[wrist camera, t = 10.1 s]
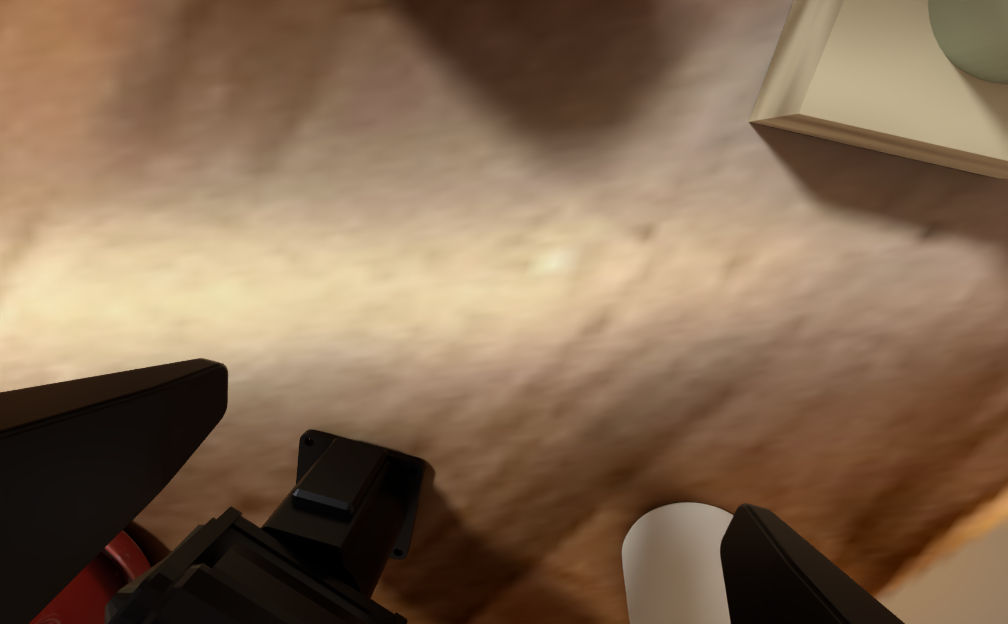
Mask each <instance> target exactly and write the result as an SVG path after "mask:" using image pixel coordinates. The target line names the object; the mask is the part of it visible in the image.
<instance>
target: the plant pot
mask: <svg viewBox="0 0 1008 624" xmlns="http://www.w3.org/2000/svg"><path fill="white" fill-rule="evenodd" d="M150 568H151V566H150V564H149V562H148V560H147V558H146V557H145V555H144V554H143V552H142V551H141V549H140V548H139V547H138V545H137V544H136V543H135V542H134V540H133V539H132V538H131V537H130V536H129V535H128V534H127V533H125V532H124V531H123V530H122V531H121V532H120V533H119V534H118V535H117V536H116V537H115V538H114V539H113V540H112V541H111V542H110V543H109V544H108V545H107V546H106V547H105V548H104V549H103V550H102V551H101V552H100V553H99V554H98V555H97V556H96V557H95V558H94V559H93V560H92V561H91V562H90V563H89V564H88V565H87V566H86V567H85V568H84V569H83V570H82V571H81V572H80V573H79V574H78V575H77V576H76V577H75V578H74V579H73V580H72V581H71V582H70V583H69V584H68V585H67V586H66V587H65V588H64V589H63V590H62V591H61V592H60V593H59V594H58V595H57V596H56V597H55V598H54V599H53V600H52V601H51V602H50V603H49V604H48V605H47V606H46V607H45V608H44V609H43V610H42V611H41V612H40V613H39V614H38V615H37V616H36V617H35V618H34V619H33V620H32V621H31V622H30V623H29V624H104V610H105V606H106V604H107V603H108V602H109V601H110V599H111V598H112V597H113V596H114V595H115V594H116V593H117V592H118V591H119V590H120V589H121V588H123V587H124V586H126V585H127V584H128V583H130V582H131V581H133V580H134V579H136V578H137V577H139V576H140V575H141V574H143V573H144V572H146V571H147V570H149V569H150Z"/></svg>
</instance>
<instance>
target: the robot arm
mask: <svg viewBox="0 0 1008 624" xmlns="http://www.w3.org/2000/svg"><path fill="white" fill-rule="evenodd" d="M227 403H228V370H227V367H226V366H225V365H224V364H223V363H219V362H215V361H212V360H208V359H204V358H199V359H193V360H187V361H181V362H175V363H169V364H164V365H158V366H152V367H146V368H140V369H134V370H129V371H123V372H117V373H111V374H105V375H100V376H94V377H88V378H82V379H76V380H70V381H65V382H59V383H53V384H47V385H41V386H35V387H30V388H24V389H18V390H12V391H6V392H0V624H29V623H30V622H31V621H32V620H33V619H34V618H35V617H36V616H37V615H38V614H39V613H40V612H41V611H42V610H43V609H44V608H45V607H46V606H47V605H48V604H49V603H50V602H51V601H52V600H53V599H54V598H55V597H56V596H57V595H58V594H59V593H60V592H61V591H62V590H63V589H64V588H65V587H66V586H67V585H68V584H69V583H70V582H71V581H72V580H73V579H74V578H75V577H76V576H77V575H78V574H79V573H80V572H81V571H82V570H83V569H84V568H85V567H86V566H87V565H88V564H89V563H90V562H91V561H92V560H93V559H94V558H95V557H96V556H97V555H98V554H99V553H100V552H101V551H102V550H103V549H104V548H105V547H106V546H107V545H108V544H109V543H110V542H111V541H112V540H113V539H114V538H115V537H116V536H117V535H118V534H119V533H120V532H121V531H122V530H123V529H124V528H125V527H126V526H127V525H128V524H129V523H130V522H131V521H132V520H133V519H134V518H135V517H136V516H137V515H138V514H139V513H140V512H141V511H142V510H143V509H144V508H145V507H146V506H147V505H148V504H149V503H150V502H151V501H152V500H153V499H154V498H155V497H156V496H157V495H158V494H159V493H160V492H161V491H162V489H163V488H164V487H165V486H166V485H167V484H168V483H169V482H170V480H171V479H172V478H173V477H174V476H175V475H176V473H177V472H178V471H179V470H180V469H181V467H182V466H183V465H184V464H185V463H186V461H187V460H188V459H189V458H190V456H191V455H192V454H193V453H194V452H195V450H196V449H197V448H198V447H199V446H200V444H201V443H202V442H203V441H204V440H205V438H206V437H207V436H208V435H209V434H210V432H211V431H212V430H213V429H214V428H215V426H216V425H217V424H218V423H219V422H220V420H221V419H222V418H223V416H224V414H225V412H226V409H227ZM309 438H310V439H312V440H313V441H314V442H312V441H310V440H309ZM412 467H416V468H417V469H418V470H414V469H412ZM424 471H425V464H424V462H423V461H422V460H421V459H418V458H416V457H412V456H408V455H405V454H401V453H397V452H393V451H390V450H386V449H382V448H379V447H375V446H371V445H368V444H364V443H360V442H357V441H353V440H349V439H346V438H342V437H338V436H335V435H331V434H327V433H324V432H320V431H316V430H307V431H306V432H305V433H304V434H303V435H302V436H301V438H300V443H299V455H298V467H297V479H296V486H295V487H294V488H293V489H292V491H291V492H290V493H289V494H288V495H287V497H286V498H285V499H284V500H283V502H282V503H281V504H280V505H279V506H278V508H277V509H276V510H275V511H274V513H273V514H272V515H271V516H270V517H269V519H268V520H267V521H266V522H265V524H264V525H263V526H262V527H261V528H259V527H258V526H256V525H255V524H253V523H252V522H250V521H249V520H247V519H245V518H244V517H242V516H241V515H242V513H241V512H240V511H238V510H236V509H235V508H233V507H232V506H231V507H230V508H228V509H227V510H226V511H225V512H224V513H223V514H222V515H221V516H220V517H219V518H217V519H215V518H212V519H211V520H210V521H209V522H208V523H206V524H205V525H198V526H197V527H196V528H195V529H194V530H193V531H192V532H191V533H190V534H189V535H188V536H187V537H186V538H185V539H184V540H183V541H182V542H181V543H180V544H179V545H178V546H177V547H176V548H175V549H174V550H173V551H172V552H171V553H170V554H169V555H168V556H166V557H165V558H164V559H163V560H161V561H160V562H159V563H157V564H156V565H154V566H153V567H151V568H150V569H149V570H147V571H146V572H144V573H143V574H141V575H140V576H139V577H137V578H136V579H134V580H133V581H131V582H130V583H128V584H127V585H126V586H124V587H123V588H121V589H120V590H119V591H118V592H117V593H116V594H115V595H114V596H113V597H112V598H111V599H110V601H109V602H108V603H107V604H106V606H105V610H104V624H407V619H406V618H404V617H403V616H401V615H400V614H398V613H395V614H393V613H392V612H390V611H389V610H387V609H386V608H384V607H383V606H381V605H379V604H378V603H376V602H375V601H373V600H372V599H371V596H372V594H373V592H374V590H375V587H376V585H377V583H378V581H379V578H380V576H381V574H382V572H383V569H384V567H385V565H386V563H387V560H388V558H389V557H390V558H394V559H398V560H401V559H404V558H405V557H406V556H407V553H408V551H409V547H410V542H411V537H412V532H413V527H414V522H415V517H416V512H417V507H418V502H419V497H420V492H421V487H422V482H423V477H424ZM398 549H400V550H398ZM720 558H721V564H722V571H723V577H724V584H725V590H726V597H727V603H728V609H729V616H730V622H731V624H905V623H903V622H902V621H901V620H900V619H899V618H897V617H896V616H895V615H894V614H893V613H892V612H890V611H889V610H888V609H887V608H886V607H884V606H883V605H882V604H881V603H880V602H879V601H877V600H876V599H875V598H874V597H873V596H871V595H870V594H869V593H868V592H867V591H865V590H864V589H863V588H862V587H861V586H860V585H858V584H857V583H856V582H855V581H854V580H852V579H851V578H850V577H849V576H848V575H846V574H845V573H844V572H843V571H842V570H841V569H839V568H838V567H837V566H836V565H835V564H833V563H832V562H831V561H830V560H829V559H827V558H826V557H825V556H824V555H823V554H822V553H820V552H819V551H818V550H817V549H816V548H814V547H813V546H812V545H811V544H810V543H808V542H807V541H806V540H805V539H804V538H803V537H801V536H800V535H799V534H798V533H797V532H795V531H794V530H793V529H792V528H791V527H789V526H788V525H787V524H786V523H785V522H784V521H782V520H781V519H780V518H779V517H778V516H776V515H775V514H774V513H773V512H772V511H770V510H768V509H766V508H763V507H759V506H755V505H751V504H747V503H744V504H741V505H740V506H739V507H738V508H737V510H736V512H735V514H734V516H733V518H732V520H731V522H730V524H729V526H728V528H727V530H726V532H725V534H724V536H723V538H722V541H721V545H720Z"/></svg>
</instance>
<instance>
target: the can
mask: <svg viewBox="0 0 1008 624" xmlns="http://www.w3.org/2000/svg"><path fill="white" fill-rule="evenodd" d="M732 518H733V515H732V514H730V513H728V512H727V511H725V510H722V509H720V508H717V507H714V506H711V505H706V504H702V503H695V502H678V503H672V504H667V505H664V506H661V507H658V508H655V509H653V510H651V511H649V512H648V513H646V514H645V515H643V516H642V517H641V518H640V519H639V520H637V521H636V523H635V524H634V525H633V526H632V527H631V529H630V530H629V532H628V534H627V535H626V537H625V540H624V542H623V546H622V563H623V572H624V581H625V589H626V597H627V605H628V613H629V621H630V624H731V622H730V616H729V609H728V603H727V597H726V590H725V584H724V577H723V571H722V564H721V558H720V545H721V541H722V538H723V536H724V534H725V532H726V530H727V528H728V526H729V524H730V522H731V520H732Z"/></svg>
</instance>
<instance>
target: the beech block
mask: <svg viewBox="0 0 1008 624" xmlns="http://www.w3.org/2000/svg"><path fill="white" fill-rule="evenodd" d="M749 122H752V123H757V124H761V125H766V126H770V127H774V128H779V129H783V130H788V131H792V132H796V133H801V134H805V135H810V136H814V137H818V138H823V139H827V140H831V141H836V142H840V143H845V144H849V145H853V146H858V147H862V148H867V149H871V150H875V151H880V152H884V153H888V154H893V155H897V156H902V157H906V158H910V159H915V160H919V161H924V162H928V163H932V164H937V165H941V166H946V167H950V168H954V169H959V170H963V171H967V172H972V173H976V174H981V175H985V176H989V177H994V178H998V179H1008V84H998V83H991V82H987V81H984V80H981V79H977V78H975V77H973V76H971V75H969V74H967V73H965V72H964V71H962V70H961V69H959V68H958V67H957V66H955V65H954V64H953V63H952V62H951V61H950V60H949V59H948V58H947V57H946V55H945V54H944V52H943V51H942V50H941V48H940V47H939V45H938V43H937V41H936V38H935V36H934V34H933V31H932V27H931V24H930V19H929V11H928V0H794V2H793V4H792V7H791V10H790V13H789V15H788V18H787V21H786V23H785V26H784V29H783V31H782V34H781V37H780V39H779V42H778V45H777V47H776V50H775V53H774V56H773V58H772V61H771V64H770V66H769V69H768V72H767V74H766V77H765V80H764V82H763V85H762V88H761V90H760V93H759V96H758V99H757V101H756V104H755V107H754V109H753V112H752V115H751V117H750V120H749Z"/></svg>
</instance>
